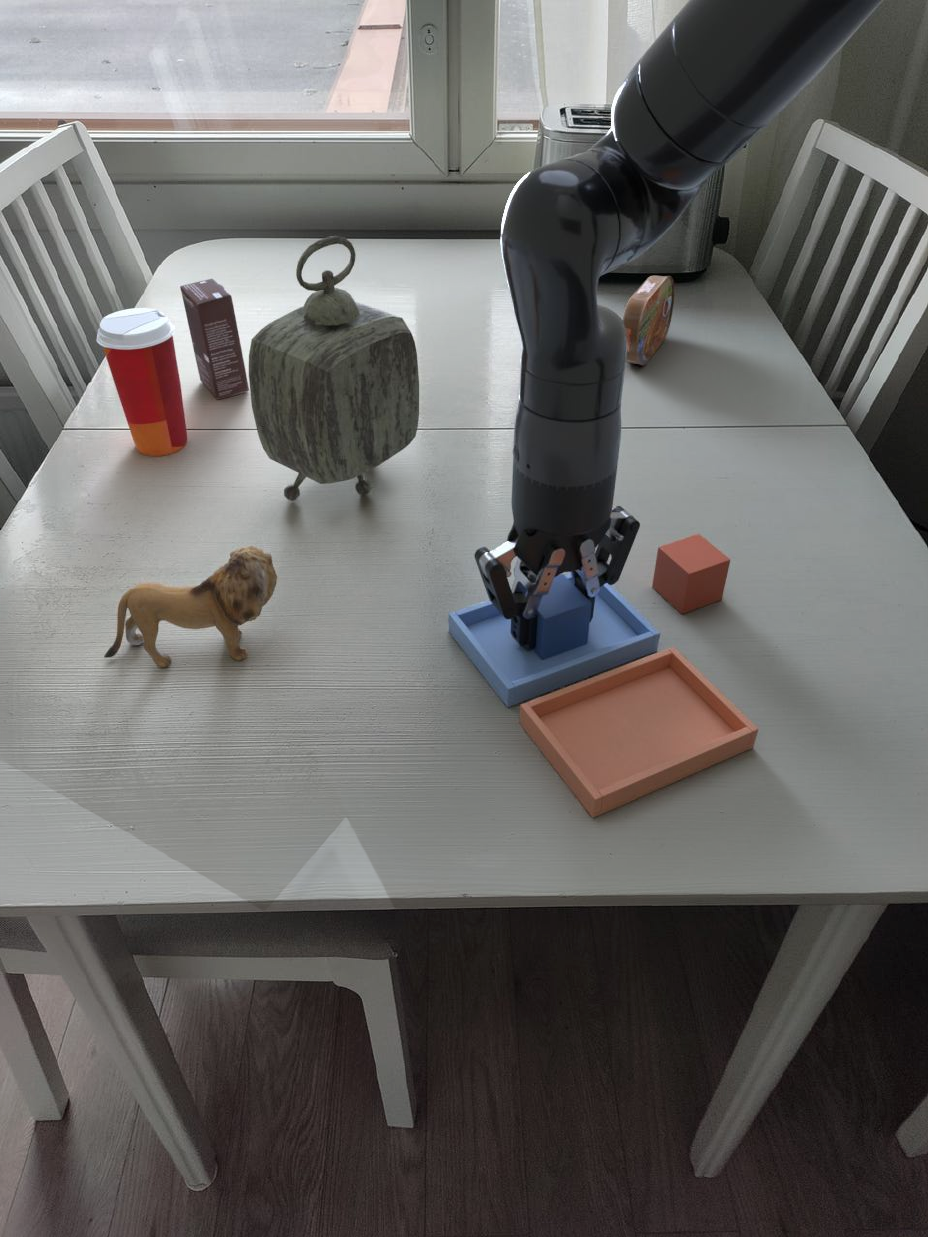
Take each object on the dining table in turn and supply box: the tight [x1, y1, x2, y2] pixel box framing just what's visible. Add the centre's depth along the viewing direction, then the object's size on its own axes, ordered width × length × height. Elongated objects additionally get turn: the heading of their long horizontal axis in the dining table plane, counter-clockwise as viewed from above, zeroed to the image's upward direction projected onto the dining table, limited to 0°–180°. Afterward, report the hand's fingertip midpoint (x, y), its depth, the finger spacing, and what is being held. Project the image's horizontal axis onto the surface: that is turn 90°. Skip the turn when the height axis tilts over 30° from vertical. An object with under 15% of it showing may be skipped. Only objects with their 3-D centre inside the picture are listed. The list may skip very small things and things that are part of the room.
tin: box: [621, 275, 675, 366], centre depth 121 cm, size 15×3×8 cm, turn 154°
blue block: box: [525, 573, 592, 660], centre depth 78 cm, size 4×4×4 cm
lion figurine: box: [103, 545, 278, 668], centre depth 77 cm, size 15×5×9 cm, turn 104°
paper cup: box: [96, 307, 188, 457], centre depth 101 cm, size 8×8×14 cm
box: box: [179, 278, 250, 400], centre depth 112 cm, size 6×4×12 cm
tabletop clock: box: [248, 235, 420, 501], centre depth 90 cm, size 14×9×25 cm, turn 141°
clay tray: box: [518, 646, 759, 819], centre depth 71 cm, size 14×10×2 cm
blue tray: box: [448, 572, 661, 708], centre depth 79 cm, size 14×10×2 cm
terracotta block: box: [651, 533, 731, 615], centre depth 84 cm, size 4×4×4 cm
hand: (551, 633), depth 80 cm, fingers closed on blue block, 4 cm apart
